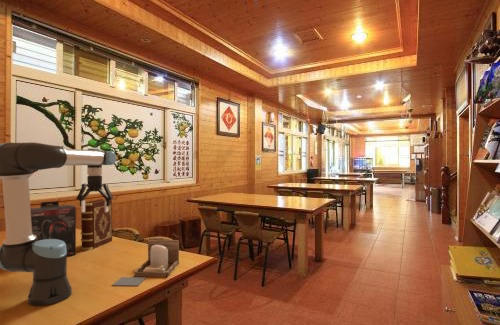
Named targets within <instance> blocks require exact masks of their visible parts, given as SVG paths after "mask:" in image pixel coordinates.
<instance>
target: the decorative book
mask: <svg viewBox="0 0 500 325" xmlns="http://www.w3.org/2000/svg"><path fill="white" fill-rule="evenodd" d="M105 201H106V199H105V200H104V198H101V199H95V200H90V201H85V212H81V211H80V212H79V213H80V215H81V217H80V220H81V224H80V225H81V228H80V229H81V232H80V235H81V238H80V241H81V246H80V249H81V250H82V251H88V250H89V251H90V250H93V249H96V248H98V247H100V246H103V245H105V244H109V243H110V242H112V241H113V199H111V200H110V206H108V212H105Z"/></svg>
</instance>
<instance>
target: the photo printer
mask: <svg viewBox="0 0 500 325" xmlns="http://www.w3.org/2000/svg"><path fill="white" fill-rule="evenodd" d="M150 265H164V268H165V270H166V271H167V270H168V269H169V264H168V249H167V248H166V247H164V246H162V245H154V246H152V247H151V249H150Z"/></svg>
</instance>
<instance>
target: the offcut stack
mask: <svg viewBox="0 0 500 325" xmlns="http://www.w3.org/2000/svg"><path fill="white" fill-rule="evenodd" d="M166 271H167V270H165V268H164V265H149V266H147V267H145V269H144V270H143V271H142V272H165V273H166Z"/></svg>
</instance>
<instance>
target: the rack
mask: <svg viewBox="0 0 500 325" xmlns="http://www.w3.org/2000/svg"><path fill="white" fill-rule="evenodd" d="M179 244H180V241H179V240H178V239H148V240H147V260H146V261H145V262H144V263H143V264H141V265H140V266H139V267H138V268H137V269H136V270H135V271H134V273H133V274H134V276H133V277H146V278H167V277H166V276H169V277H170V276H171V274H172V273H173V272H174V270H176V268H177V267H178V266H179V264H180V245H179ZM154 245H162V246H164V247H166V248H167V249H168V265H171V266H170V267H168V269H167V270H166V272H143V270H144V269H145V267H148V265H149V264H150V249H151V247H152V246H154ZM176 266H177V267H176ZM175 267H176V268H175ZM172 271H173V272H172ZM171 272H172V273H171ZM170 273H171V274H170ZM164 276H165V277H164Z"/></svg>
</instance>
